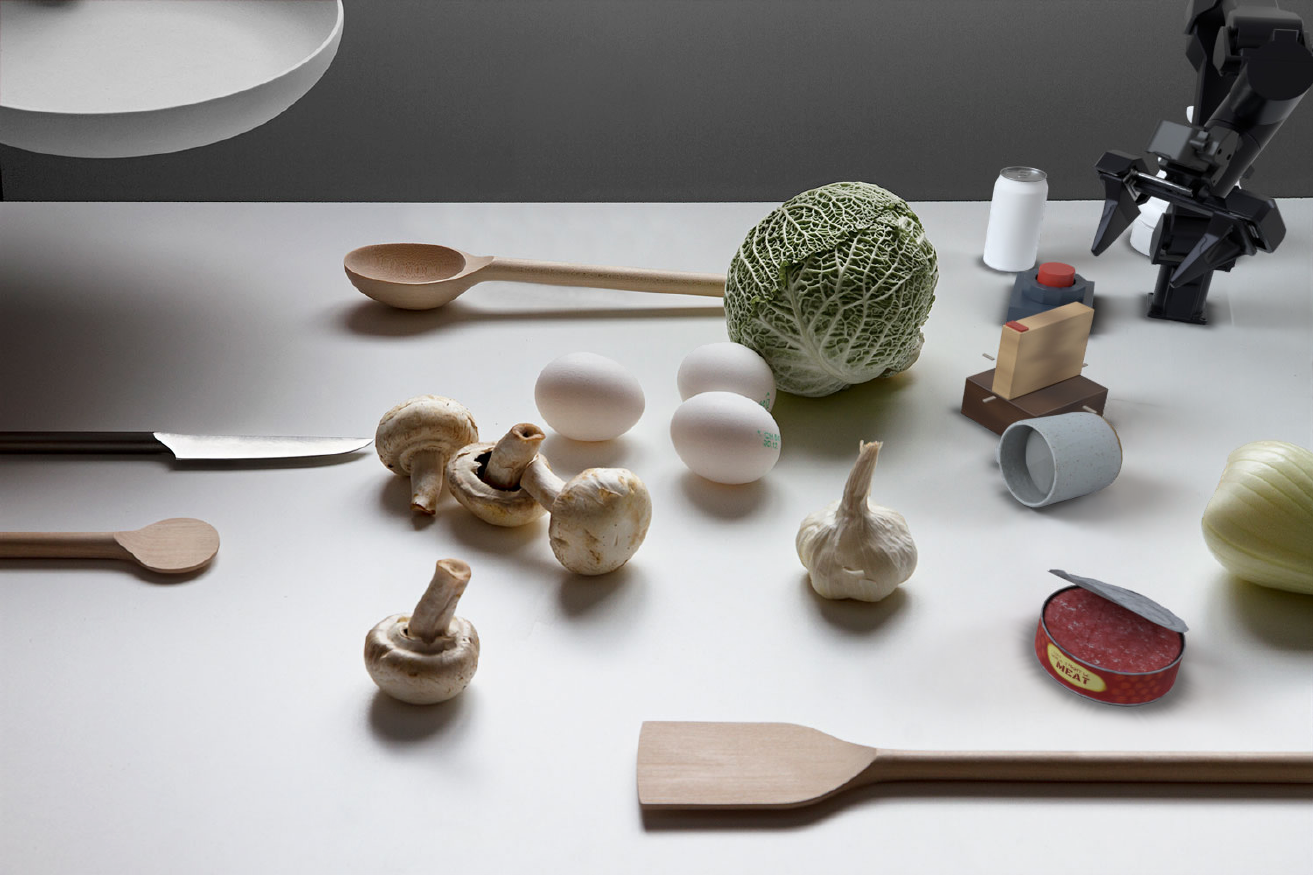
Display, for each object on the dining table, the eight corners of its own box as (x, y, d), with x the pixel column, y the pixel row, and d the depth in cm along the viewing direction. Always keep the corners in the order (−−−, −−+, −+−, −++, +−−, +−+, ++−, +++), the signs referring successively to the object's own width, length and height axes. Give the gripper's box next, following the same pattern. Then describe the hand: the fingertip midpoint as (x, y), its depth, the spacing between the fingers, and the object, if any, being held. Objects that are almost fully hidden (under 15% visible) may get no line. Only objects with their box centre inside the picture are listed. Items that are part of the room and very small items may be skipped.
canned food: (1021, 681, 87) (1006, 553, 86) (1151, 663, 87) (1137, 535, 86) (1078, 728, 76) (1061, 581, 75) (1227, 707, 76) (1211, 561, 75)
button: (1038, 273, 134) (1041, 260, 133) (1073, 278, 133) (1076, 264, 132) (1035, 286, 131) (1038, 272, 130) (1071, 291, 130) (1074, 277, 129)
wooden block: (1026, 372, 121) (1032, 337, 118) (1137, 430, 110) (1146, 392, 108) (926, 407, 114) (931, 370, 112) (1034, 471, 104) (1042, 433, 102)
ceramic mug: (1120, 502, 99) (1138, 426, 96) (1046, 524, 97) (1062, 447, 93) (1039, 446, 108) (1052, 374, 104) (969, 465, 105) (980, 392, 101)
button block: (1014, 287, 140) (1019, 257, 138) (1091, 298, 137) (1098, 267, 135) (1005, 324, 131) (1010, 292, 129) (1087, 335, 128) (1094, 303, 126)
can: (979, 269, 145) (993, 178, 138) (986, 252, 150) (1000, 163, 143) (1031, 277, 142) (1048, 184, 136) (1037, 258, 148) (1053, 168, 141)
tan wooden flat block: (1063, 365, 113) (1077, 299, 109) (1081, 374, 112) (1095, 307, 108) (991, 391, 109) (1003, 322, 105) (1008, 400, 107) (1020, 331, 103)
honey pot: (1118, 251, 150) (1147, 115, 140) (1144, 223, 159) (1173, 93, 149) (1221, 272, 143) (1260, 131, 134) (1242, 241, 152) (1280, 107, 143)
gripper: (1125, 67, 111) (1026, 196, 111) (1304, 110, 97) (1190, 257, 98) (1159, 134, 118) (1067, 255, 119) (1330, 183, 105) (1225, 319, 105)
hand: (1131, 269), depth 110 cm, fingers open, 9 cm apart
